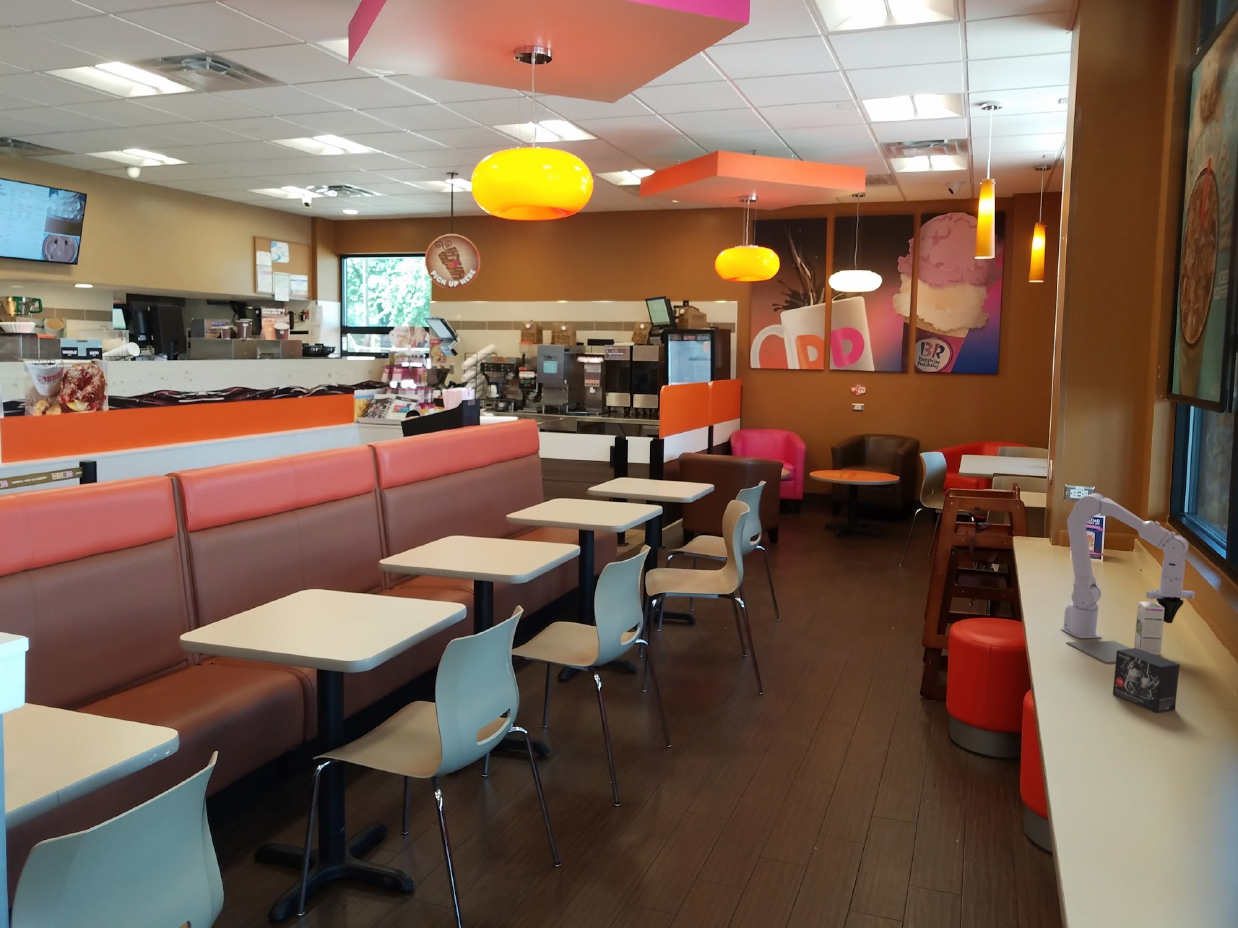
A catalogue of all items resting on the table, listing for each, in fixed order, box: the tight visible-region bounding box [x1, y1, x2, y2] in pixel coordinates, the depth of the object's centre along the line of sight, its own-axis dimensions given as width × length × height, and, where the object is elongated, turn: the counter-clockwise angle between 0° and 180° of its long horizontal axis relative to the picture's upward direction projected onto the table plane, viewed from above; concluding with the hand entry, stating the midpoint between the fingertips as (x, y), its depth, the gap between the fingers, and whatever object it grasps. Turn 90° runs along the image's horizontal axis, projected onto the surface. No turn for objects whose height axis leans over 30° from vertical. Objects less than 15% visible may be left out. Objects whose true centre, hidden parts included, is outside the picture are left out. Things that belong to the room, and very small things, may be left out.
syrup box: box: [1133, 601, 1165, 656], centre depth 278 cm, size 6×6×14 cm
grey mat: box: [1065, 640, 1132, 664], centre depth 277 cm, size 18×16×1 cm
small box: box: [1112, 647, 1181, 714], centre depth 238 cm, size 13×7×12 cm, turn 21°
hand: (1167, 622), depth 279 cm, fingers closed
